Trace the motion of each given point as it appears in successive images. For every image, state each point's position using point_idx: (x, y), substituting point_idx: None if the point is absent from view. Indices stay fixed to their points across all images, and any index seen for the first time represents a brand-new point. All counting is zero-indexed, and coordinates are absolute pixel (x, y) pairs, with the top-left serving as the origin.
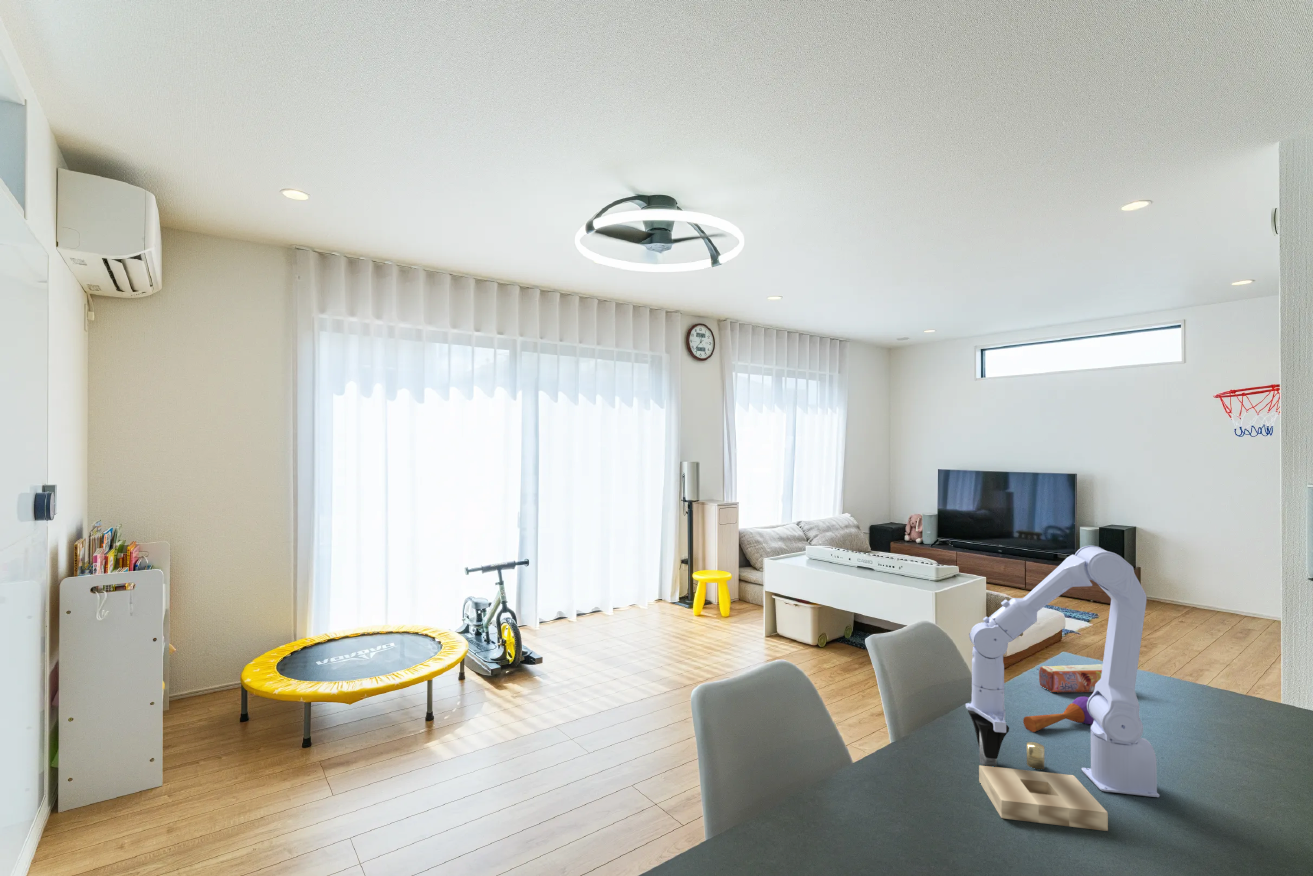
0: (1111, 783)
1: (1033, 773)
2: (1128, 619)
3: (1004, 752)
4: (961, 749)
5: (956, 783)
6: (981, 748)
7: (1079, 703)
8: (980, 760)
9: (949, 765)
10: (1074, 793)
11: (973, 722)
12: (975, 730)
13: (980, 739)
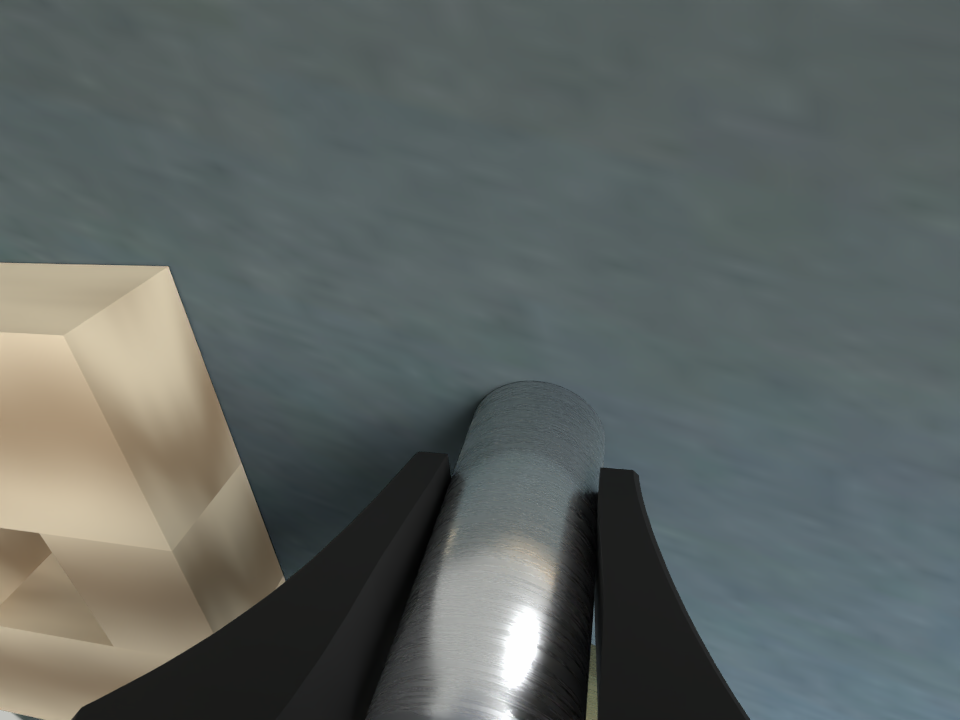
0: None
1: (181, 632)
2: None
3: (770, 606)
4: (814, 299)
5: (10, 45)
6: (477, 481)
7: None
8: (520, 394)
9: (361, 55)
10: (65, 687)
11: (669, 710)
12: (655, 607)
13: (476, 554)
